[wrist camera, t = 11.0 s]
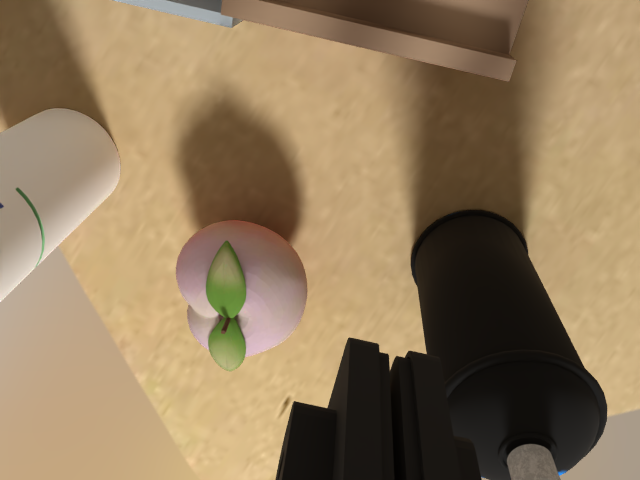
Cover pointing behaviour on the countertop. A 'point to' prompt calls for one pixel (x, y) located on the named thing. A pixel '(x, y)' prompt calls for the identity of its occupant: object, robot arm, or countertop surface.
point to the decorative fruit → (240, 289)
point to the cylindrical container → (49, 185)
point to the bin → (189, 9)
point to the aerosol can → (503, 350)
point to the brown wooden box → (403, 27)
